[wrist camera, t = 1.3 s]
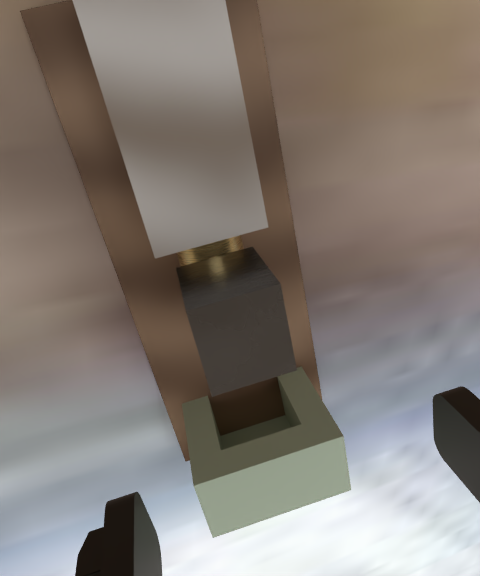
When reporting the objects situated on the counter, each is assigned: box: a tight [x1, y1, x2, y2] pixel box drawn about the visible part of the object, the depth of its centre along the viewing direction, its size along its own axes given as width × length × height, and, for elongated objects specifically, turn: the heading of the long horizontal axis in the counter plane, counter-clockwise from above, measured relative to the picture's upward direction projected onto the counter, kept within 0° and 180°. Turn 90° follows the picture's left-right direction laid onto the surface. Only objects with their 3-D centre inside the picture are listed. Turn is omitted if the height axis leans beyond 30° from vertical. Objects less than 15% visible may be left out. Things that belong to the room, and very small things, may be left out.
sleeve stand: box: [20, 0, 322, 461], centre depth 23 cm, size 26×10×6 cm, turn 12°
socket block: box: [182, 366, 351, 538], centre depth 26 cm, size 4×8×6 cm, turn 102°
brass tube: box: [176, 235, 297, 397], centre depth 19 cm, size 17×4×8 cm, turn 12°
